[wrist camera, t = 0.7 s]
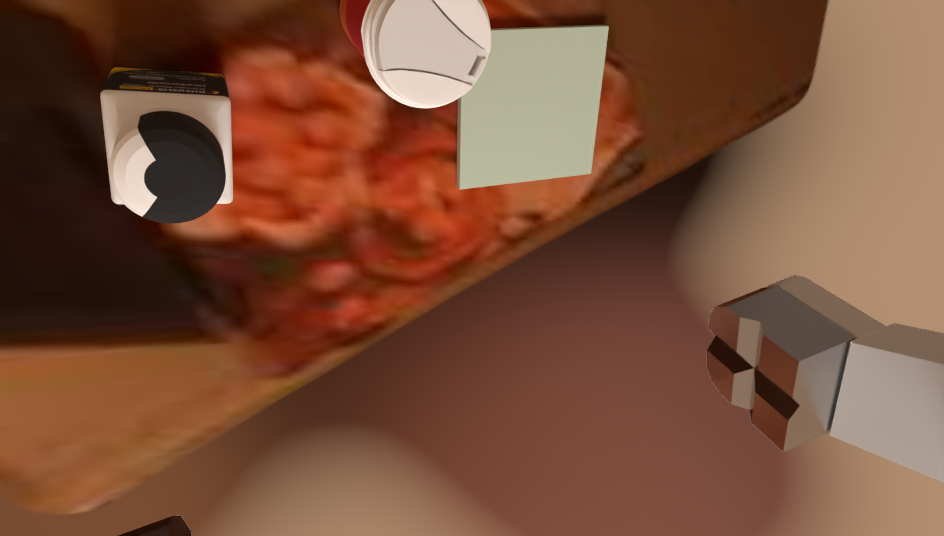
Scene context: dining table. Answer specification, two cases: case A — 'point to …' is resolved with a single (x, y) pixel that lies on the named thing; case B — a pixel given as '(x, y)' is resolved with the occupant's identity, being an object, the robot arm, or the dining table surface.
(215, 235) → the dining table surface
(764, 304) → the robot arm
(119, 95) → the medicine bottle
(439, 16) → the paper cup
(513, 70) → the board
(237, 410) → the dining table surface
